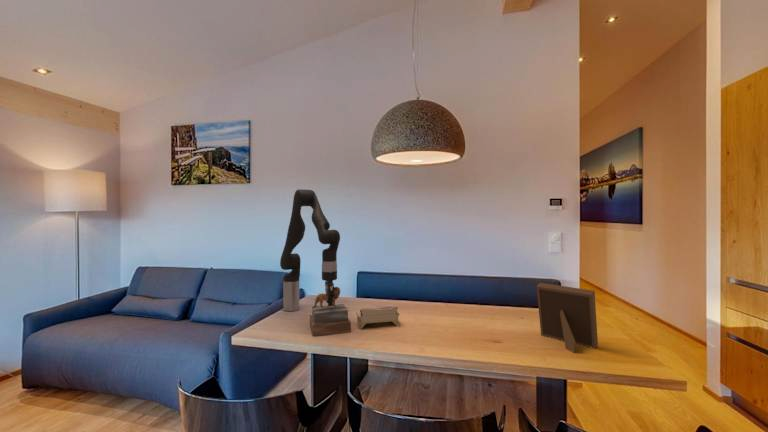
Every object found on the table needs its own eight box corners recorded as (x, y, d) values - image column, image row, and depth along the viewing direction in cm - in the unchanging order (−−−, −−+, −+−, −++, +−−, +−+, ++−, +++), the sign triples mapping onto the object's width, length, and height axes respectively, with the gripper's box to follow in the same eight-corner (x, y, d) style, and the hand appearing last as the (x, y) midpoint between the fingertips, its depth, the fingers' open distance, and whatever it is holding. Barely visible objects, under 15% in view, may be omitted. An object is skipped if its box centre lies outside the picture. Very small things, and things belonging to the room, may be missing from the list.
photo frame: (544, 332, 154) (544, 280, 154) (597, 346, 139) (597, 288, 138) (532, 341, 144) (532, 286, 144) (588, 357, 129) (588, 294, 128)
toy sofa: (394, 320, 173) (394, 301, 173) (399, 326, 165) (399, 306, 165) (356, 324, 168) (356, 304, 168) (359, 330, 160) (359, 309, 159)
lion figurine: (337, 302, 167) (337, 285, 166) (342, 305, 162) (342, 287, 162) (310, 307, 158) (310, 289, 158) (315, 310, 153) (315, 291, 153)
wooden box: (309, 325, 166) (309, 305, 166) (344, 321, 171) (344, 302, 171) (312, 336, 151) (312, 315, 150) (350, 332, 156) (350, 311, 156)
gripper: (320, 268, 166) (320, 301, 167) (323, 272, 153) (323, 308, 153) (334, 267, 169) (334, 299, 169) (339, 272, 155) (339, 307, 155)
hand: (329, 304), depth 161 cm, fingers closed on lion figurine, 4 cm apart
